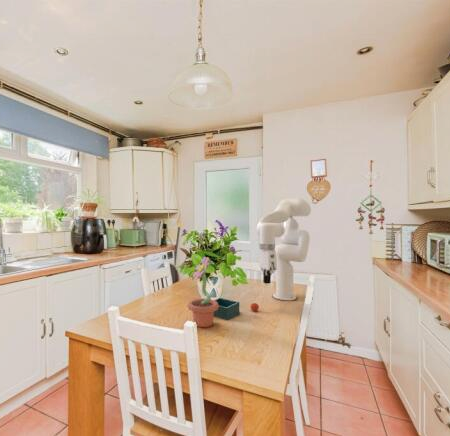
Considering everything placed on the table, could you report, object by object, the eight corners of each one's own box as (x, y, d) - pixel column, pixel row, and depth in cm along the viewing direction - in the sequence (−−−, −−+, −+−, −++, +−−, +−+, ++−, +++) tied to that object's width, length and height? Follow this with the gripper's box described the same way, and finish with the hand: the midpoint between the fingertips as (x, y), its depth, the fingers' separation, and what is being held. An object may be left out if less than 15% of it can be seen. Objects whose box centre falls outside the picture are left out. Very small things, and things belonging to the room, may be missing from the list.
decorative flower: (184, 318, 129) (184, 254, 129) (212, 316, 132) (212, 254, 132) (191, 331, 115) (191, 259, 114) (222, 329, 117) (223, 259, 117)
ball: (252, 309, 143) (252, 301, 143) (260, 310, 140) (260, 302, 140) (249, 311, 140) (249, 303, 140) (256, 312, 137) (256, 304, 137)
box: (219, 308, 144) (219, 297, 144) (239, 313, 137) (239, 302, 137) (206, 314, 135) (206, 302, 135) (227, 319, 128) (227, 308, 128)
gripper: (282, 248, 135) (281, 286, 135) (266, 245, 150) (265, 279, 150) (268, 249, 133) (268, 286, 133) (253, 246, 148) (253, 280, 148)
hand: (266, 283), depth 141 cm, fingers closed
